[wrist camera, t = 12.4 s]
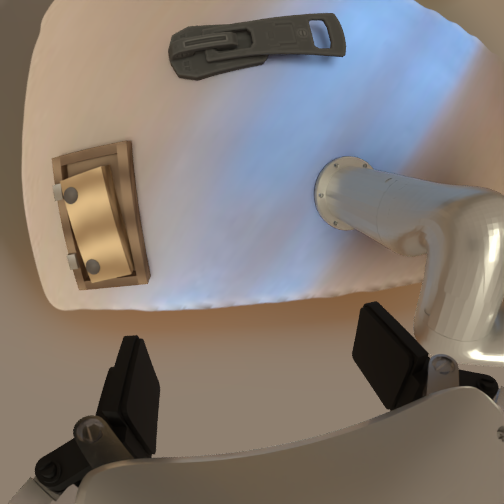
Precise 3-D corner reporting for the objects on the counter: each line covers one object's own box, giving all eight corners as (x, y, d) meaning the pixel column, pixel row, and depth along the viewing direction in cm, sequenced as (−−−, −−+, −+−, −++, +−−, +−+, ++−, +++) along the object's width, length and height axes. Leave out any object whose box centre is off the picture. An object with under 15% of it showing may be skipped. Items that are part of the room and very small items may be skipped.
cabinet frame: (60, 157, 34) (49, 158, 30) (131, 141, 36) (124, 140, 32) (85, 282, 42) (77, 292, 38) (150, 275, 44) (147, 286, 40)
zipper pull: (351, 59, 31) (169, 73, 28) (331, 69, 37) (174, 85, 34) (337, 10, 27) (162, 19, 25) (320, 24, 33) (167, 36, 31)
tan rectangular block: (71, 178, 35) (59, 181, 31) (109, 164, 36) (100, 166, 32) (99, 272, 41) (91, 283, 37) (136, 263, 42) (131, 274, 38)
